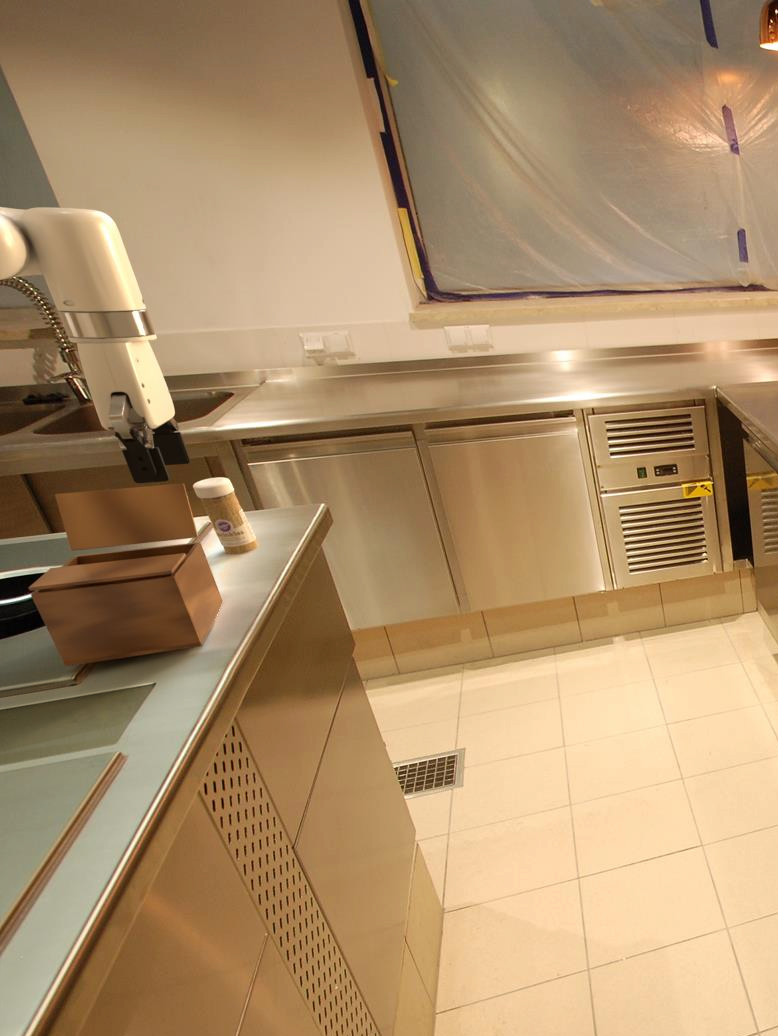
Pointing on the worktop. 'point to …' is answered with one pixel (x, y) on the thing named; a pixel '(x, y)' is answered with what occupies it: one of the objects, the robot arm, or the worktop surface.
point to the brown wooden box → (128, 602)
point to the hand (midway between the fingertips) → (164, 472)
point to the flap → (126, 516)
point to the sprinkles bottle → (226, 515)
